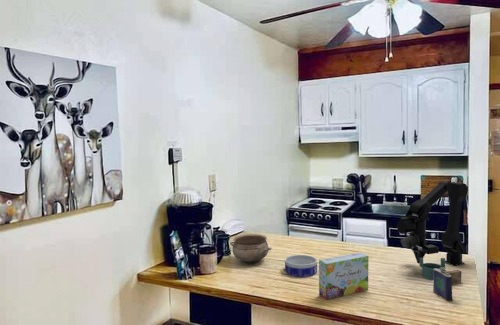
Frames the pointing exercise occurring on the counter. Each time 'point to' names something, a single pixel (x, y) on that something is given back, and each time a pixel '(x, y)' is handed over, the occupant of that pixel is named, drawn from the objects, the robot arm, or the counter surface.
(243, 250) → the cooking pot
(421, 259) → the bracket
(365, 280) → the snack box
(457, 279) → the stop rail
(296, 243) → the counter surface
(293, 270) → the dog bowl
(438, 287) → the flask
